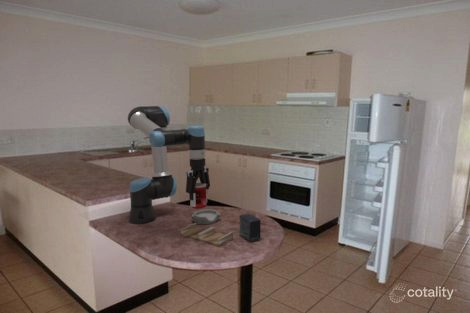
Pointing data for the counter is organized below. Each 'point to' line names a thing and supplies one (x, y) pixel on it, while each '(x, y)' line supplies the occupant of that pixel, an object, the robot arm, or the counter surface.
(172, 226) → the counter surface
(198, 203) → the canned food
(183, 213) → the counter surface
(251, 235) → the small box
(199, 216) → the dish
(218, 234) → the notched rail
